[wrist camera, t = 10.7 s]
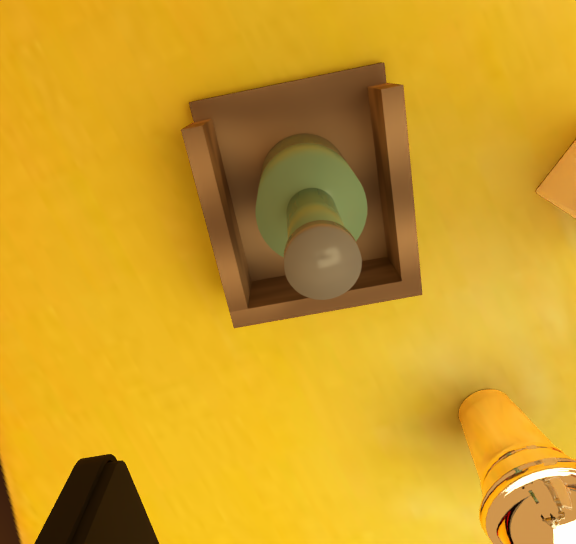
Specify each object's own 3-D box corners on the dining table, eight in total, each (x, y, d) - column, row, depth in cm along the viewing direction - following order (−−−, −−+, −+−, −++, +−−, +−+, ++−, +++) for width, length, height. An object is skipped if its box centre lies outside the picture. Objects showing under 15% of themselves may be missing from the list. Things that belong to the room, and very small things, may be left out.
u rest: (191, 101, 31) (175, 107, 26) (381, 62, 30) (400, 61, 26) (239, 294, 36) (234, 328, 32) (402, 264, 36) (422, 294, 31)
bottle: (251, 143, 31) (231, 208, 18) (339, 124, 31) (388, 176, 17) (270, 226, 34) (265, 341, 20) (353, 210, 33) (405, 315, 20)
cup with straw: (478, 352, 39) (659, 607, 20) (560, 398, 41) (794, 669, 22) (415, 425, 42) (524, 708, 23) (495, 465, 44) (655, 756, 25)
